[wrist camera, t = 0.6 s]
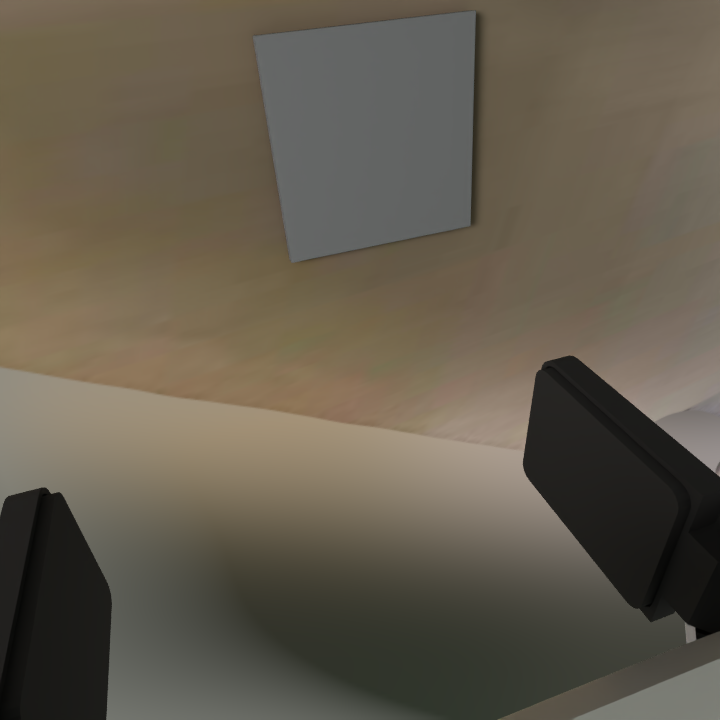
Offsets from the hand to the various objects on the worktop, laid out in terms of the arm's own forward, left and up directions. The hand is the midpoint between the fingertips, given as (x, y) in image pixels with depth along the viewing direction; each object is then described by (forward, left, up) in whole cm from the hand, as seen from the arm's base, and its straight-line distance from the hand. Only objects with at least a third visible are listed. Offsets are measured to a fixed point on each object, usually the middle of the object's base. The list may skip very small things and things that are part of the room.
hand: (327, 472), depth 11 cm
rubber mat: (+1, +11, -30) cm, 32 cm away
